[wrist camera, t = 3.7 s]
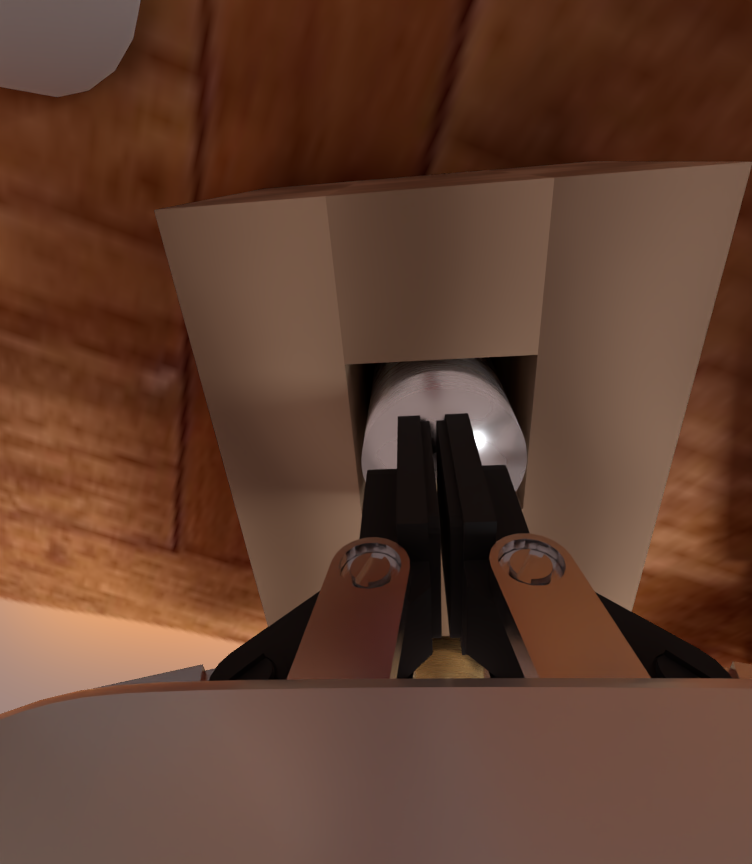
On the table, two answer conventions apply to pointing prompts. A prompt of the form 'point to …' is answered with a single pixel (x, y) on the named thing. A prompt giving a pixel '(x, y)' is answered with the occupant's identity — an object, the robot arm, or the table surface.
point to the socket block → (455, 340)
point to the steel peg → (443, 410)
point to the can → (63, 43)
